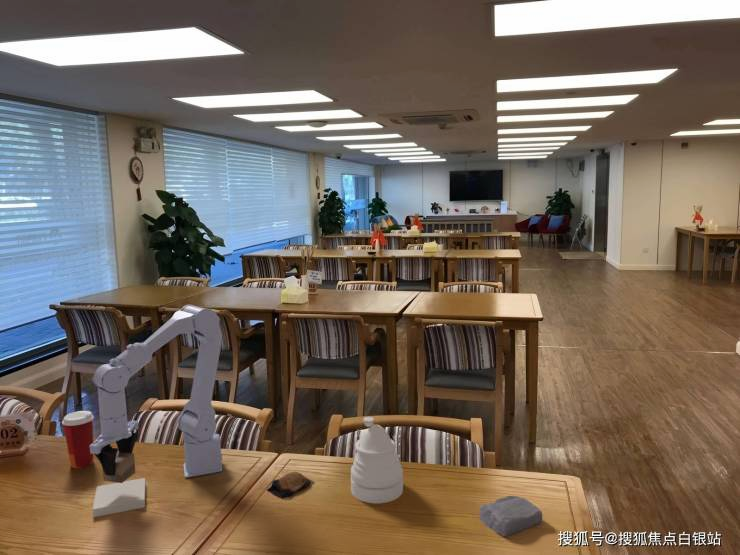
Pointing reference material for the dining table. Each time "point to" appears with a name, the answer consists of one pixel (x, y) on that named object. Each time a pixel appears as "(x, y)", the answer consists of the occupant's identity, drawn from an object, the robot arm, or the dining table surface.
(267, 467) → the dining table surface
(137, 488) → the stoneware tile
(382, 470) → the honey pot
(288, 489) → the brown rounded lump
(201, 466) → the robot arm
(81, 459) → the paper cup
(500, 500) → the stone block
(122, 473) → the walnut block
